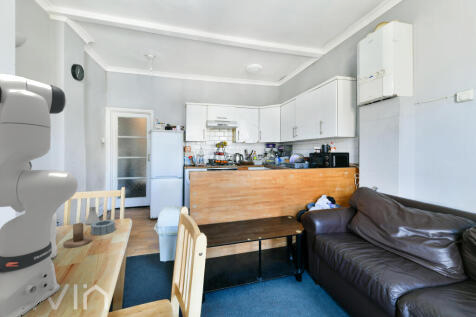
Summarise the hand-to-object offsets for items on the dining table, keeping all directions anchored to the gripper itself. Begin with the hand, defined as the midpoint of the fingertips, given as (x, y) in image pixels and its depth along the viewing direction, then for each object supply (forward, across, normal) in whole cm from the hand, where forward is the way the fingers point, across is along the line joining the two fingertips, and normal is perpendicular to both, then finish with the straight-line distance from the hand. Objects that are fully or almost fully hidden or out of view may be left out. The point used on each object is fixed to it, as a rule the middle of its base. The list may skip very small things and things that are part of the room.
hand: (47, 210), depth 94 cm
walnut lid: (+21, 0, +3) cm, 21 cm away
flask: (+18, +28, +6) cm, 34 cm away
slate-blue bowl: (+25, +13, -2) cm, 28 cm away
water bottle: (+17, -15, +7) cm, 23 cm away
